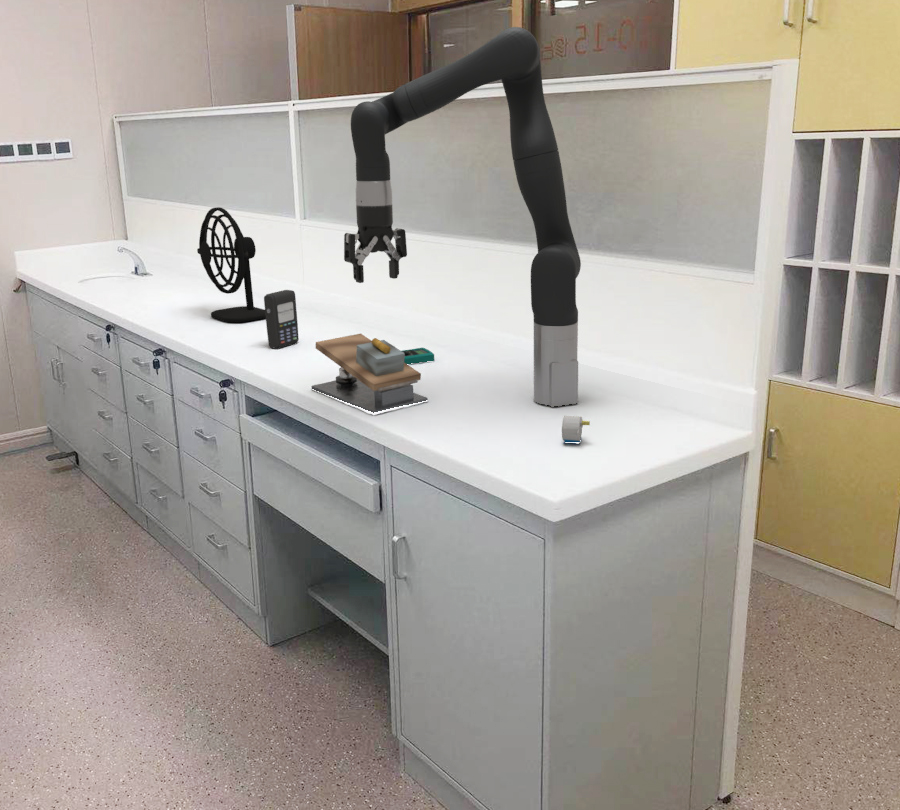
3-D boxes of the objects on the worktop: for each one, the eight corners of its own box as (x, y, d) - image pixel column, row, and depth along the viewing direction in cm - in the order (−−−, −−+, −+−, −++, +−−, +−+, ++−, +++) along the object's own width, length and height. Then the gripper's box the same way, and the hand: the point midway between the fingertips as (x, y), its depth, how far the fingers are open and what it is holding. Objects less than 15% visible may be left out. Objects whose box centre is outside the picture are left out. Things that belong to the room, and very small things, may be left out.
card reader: (277, 350, 243) (272, 295, 238) (267, 348, 245) (261, 294, 240) (300, 343, 250) (296, 290, 245) (290, 341, 252) (285, 288, 247)
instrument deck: (421, 382, 192) (424, 350, 188) (374, 393, 185) (376, 360, 181) (360, 340, 208) (362, 311, 205) (315, 349, 201) (316, 319, 198)
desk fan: (194, 315, 291) (181, 206, 281) (243, 307, 302) (232, 202, 291) (232, 328, 271) (219, 211, 261) (282, 319, 282) (272, 206, 271)
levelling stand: (427, 402, 193) (426, 381, 192) (373, 416, 185) (372, 394, 184) (363, 378, 213) (362, 359, 211) (311, 390, 205) (310, 370, 203)
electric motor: (586, 449, 162) (587, 423, 161) (560, 447, 164) (560, 421, 162) (591, 436, 169) (591, 411, 167) (566, 435, 170) (566, 410, 169)
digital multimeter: (371, 364, 227) (370, 353, 226) (425, 356, 232) (424, 345, 232) (380, 371, 221) (379, 359, 220) (435, 363, 226) (435, 351, 225)
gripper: (354, 206, 178) (357, 286, 183) (412, 201, 186) (414, 278, 191) (335, 203, 184) (339, 281, 189) (392, 199, 192) (394, 274, 197)
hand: (376, 280), depth 190 cm, fingers open, 8 cm apart
